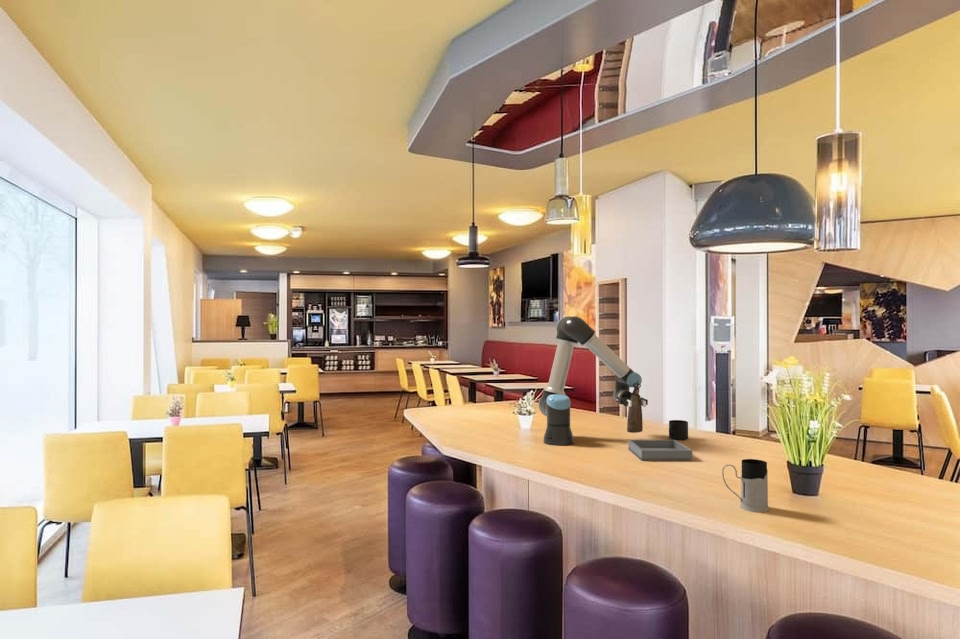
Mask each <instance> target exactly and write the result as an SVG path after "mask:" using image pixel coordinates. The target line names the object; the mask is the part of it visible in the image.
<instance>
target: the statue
mask: <svg viewBox="0 0 960 639" xmlns="http://www.w3.org/2000/svg"><path fill="white" fill-rule="evenodd" d="M641 384H642V383H641ZM641 384H638V381H637V383H633V386H634V387H633V390H632V392H631V393H632V395H631V399H630V401H632V407H630V406H628V411H627V422H626V423H627V424H626V425H627V426H626V427H627V428H626V432H627V433H632V434H635V433H636V434H637V433H642V432H643V429H644V428H643V423H644V422H643V406H641V401H640V398H641V395H640V394H639V393H640V388H641V387H642V385H641ZM635 385H637V387H636V386H635Z"/></svg>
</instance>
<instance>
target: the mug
mask: <svg viewBox="0 0 960 639" xmlns="http://www.w3.org/2000/svg"><path fill="white" fill-rule="evenodd" d="M688 439H689V421H687V420H682V419H680V420H679V419H673V420H668V440H676V441H678V442H679V441H680V442H681V441H688Z"/></svg>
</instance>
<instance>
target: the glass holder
mask: <svg viewBox="0 0 960 639" xmlns="http://www.w3.org/2000/svg"><path fill="white" fill-rule="evenodd" d="M726 467H733V469H734V471H735V473H734V474H735V477H736V478H737V479H740V486H741V487H740V490H741V492H740V493H741V494H740V495H738V494H737V493H736V492H734V491H733V490H732V489H731V488H730V487H729V486H728V484H727V482H726V479H725V475H724V473H725V472H724V470H725V469H726ZM768 474H769V473H768V462H767V461H765V460H762V459H756V458H755V459H754V458H744V459H742V460H741V475H740V476H738V471H737V468H736V466H734V465H733V464H725V465H724V466H723V467H722V472H721V475H722V480H723V483H724V485H725V486H726V488H727V489H728V490H729V491H730V492H731V493H732V494H734V495H735V496H736V497H738V499H739V500H740V504H739V508H740V509H742V510H744V511H747V512H751V513H767V512H769V511H770V508H769V499H768V498H769V495H768V493H769V491H768V490H769V488H768V485H769V484H768V478H769V477H768V476H769V475H768ZM740 496H741V497H740Z"/></svg>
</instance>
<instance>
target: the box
mask: <svg viewBox="0 0 960 639" xmlns="http://www.w3.org/2000/svg"><path fill="white" fill-rule="evenodd" d="M627 441H628V444H627V445H628V450H629V451H630V452H631V453H632V454H633V455H635V457H636V458H638V459H639V460H640V461H641V462H642V461H643V462H646V461H647V462H649V461H650V462H653V461H654V462H660V461H663V462H665V461H666V462H676V461H677V462H679V461H681V462H683V461H684V462H685V461H686V462H687V461H688V462H689V461H693V449H691V448H690V447H688V446H686V445H684V444H682V443H680V442H679V440H672V439H628V440H627Z"/></svg>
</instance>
